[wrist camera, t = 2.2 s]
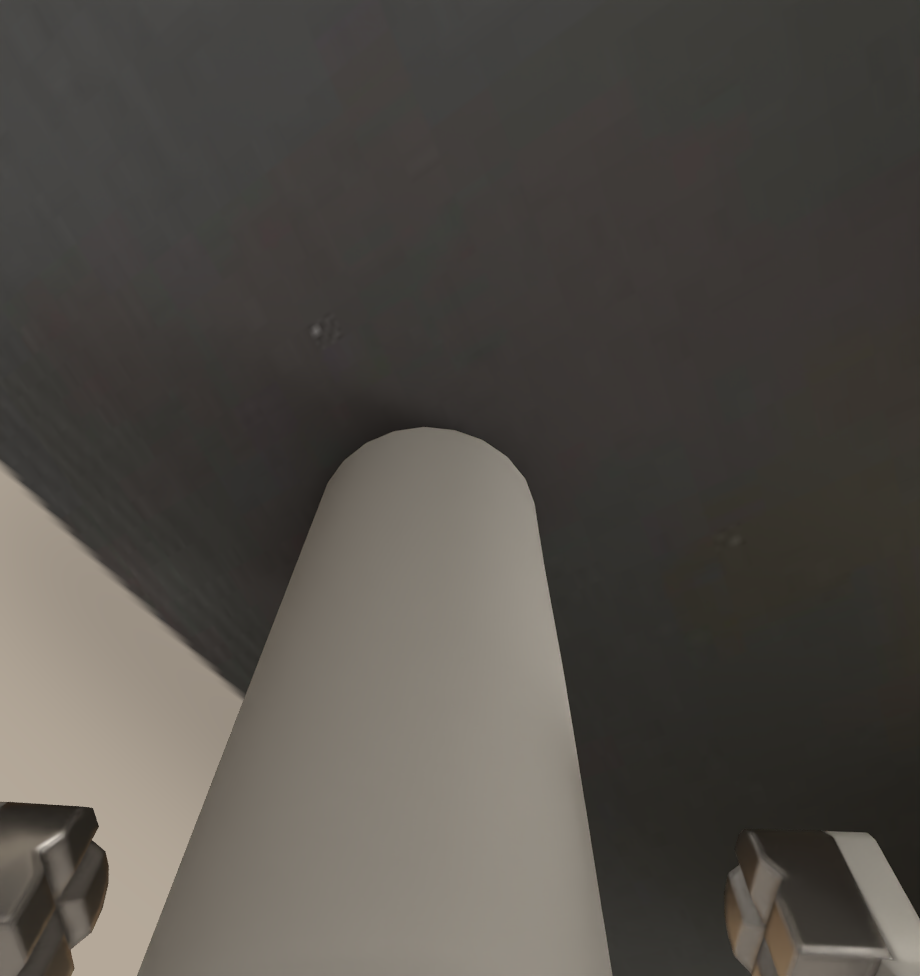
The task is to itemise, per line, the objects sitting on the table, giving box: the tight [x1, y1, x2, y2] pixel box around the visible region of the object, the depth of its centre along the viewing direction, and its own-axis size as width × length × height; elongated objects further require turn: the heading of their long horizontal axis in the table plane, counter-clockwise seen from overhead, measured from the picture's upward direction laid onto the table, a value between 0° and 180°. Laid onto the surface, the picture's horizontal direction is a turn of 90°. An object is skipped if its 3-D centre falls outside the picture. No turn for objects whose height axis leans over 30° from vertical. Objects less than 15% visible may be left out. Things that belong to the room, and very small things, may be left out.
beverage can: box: [137, 427, 612, 976], centre depth 12 cm, size 5×5×12 cm
